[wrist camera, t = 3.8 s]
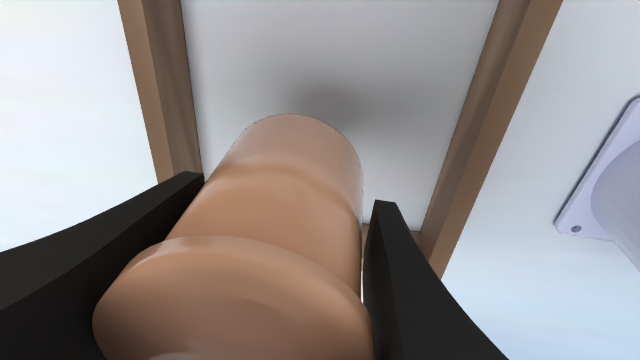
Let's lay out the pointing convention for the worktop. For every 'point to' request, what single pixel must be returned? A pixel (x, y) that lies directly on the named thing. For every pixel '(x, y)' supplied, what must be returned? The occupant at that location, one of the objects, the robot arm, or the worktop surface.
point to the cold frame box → (466, 146)
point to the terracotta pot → (253, 259)
